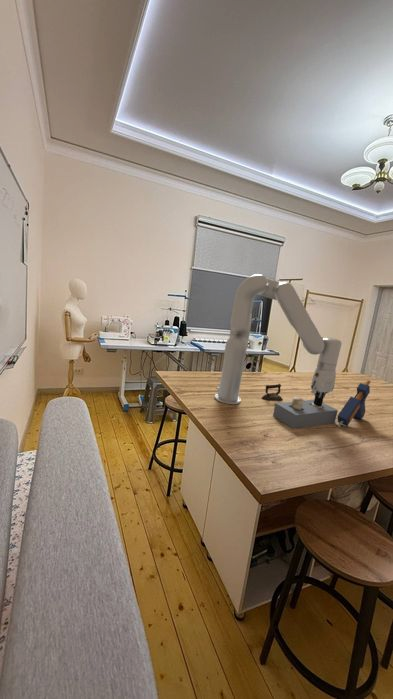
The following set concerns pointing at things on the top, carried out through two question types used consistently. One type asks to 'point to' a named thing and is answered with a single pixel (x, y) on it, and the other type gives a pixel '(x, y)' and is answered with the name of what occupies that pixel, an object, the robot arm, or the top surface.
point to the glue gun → (354, 405)
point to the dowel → (297, 403)
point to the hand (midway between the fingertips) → (317, 405)
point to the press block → (304, 414)
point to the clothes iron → (272, 395)
